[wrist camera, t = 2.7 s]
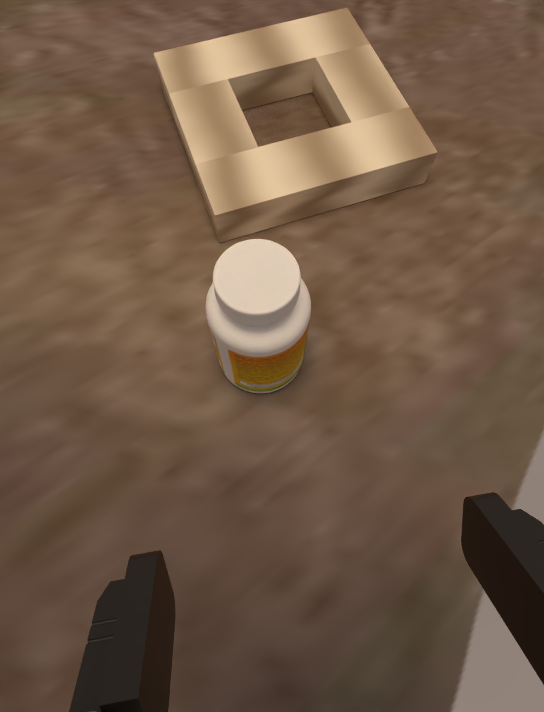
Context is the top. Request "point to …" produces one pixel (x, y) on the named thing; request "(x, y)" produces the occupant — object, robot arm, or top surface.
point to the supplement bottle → (258, 315)
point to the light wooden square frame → (300, 154)
